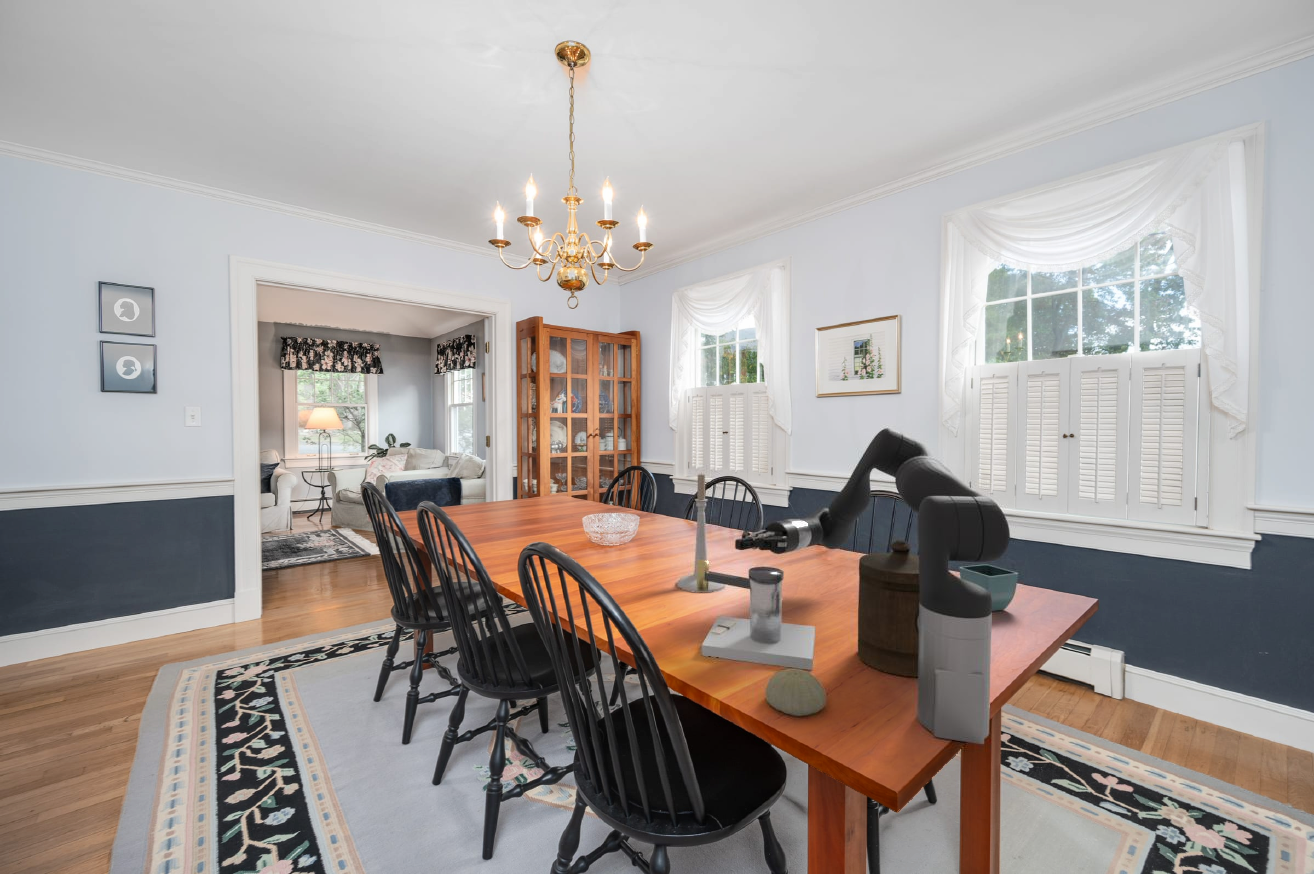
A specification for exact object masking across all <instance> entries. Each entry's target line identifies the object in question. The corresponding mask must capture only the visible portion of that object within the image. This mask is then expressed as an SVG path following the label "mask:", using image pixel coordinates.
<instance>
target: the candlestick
mask: <svg viewBox="0 0 1314 874" xmlns="http://www.w3.org/2000/svg"><path fill="white" fill-rule="evenodd" d="M708 500H709V499H708V498H707V499H706V474H704V473H700V474H699V473H698V474H697V498H695V499H694V501H695V502H696V504H695V505H696V507H697V514H696V515H697V519H696V520H697V521H696V533H695V534H696V536H695V551H694V552H695V556H694V571H693V573H690V574H686V575H683V576H682V577H680V578H679V579H678V580H677V581H676V586H677V588H679V587H680V588H681V589H680V588H679V589H680V590H682V589H684V590H683V591H685V590H687V591H686V592H689V591H694V592H693V593H697V592H709V593H715V592H714V591H716V592H719V590H720V591H721V590H724V589H725V588H724V587H726V585H725V584H720V583H715V582H710V581H709V590H708V591H698V590H697V560H699V559H706V560H708V552H707V551H708V550H707V529H706V513H705V509H706V507H707V502H708ZM712 591H713V592H712Z"/></svg>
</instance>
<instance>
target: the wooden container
mask: <svg viewBox="0 0 1314 874" xmlns="http://www.w3.org/2000/svg"><path fill="white" fill-rule="evenodd" d="M911 547H912V546H911V544H910V543H909V542H907V541H906V540H903V539H902V540H900V539H898V540H896V541H893V542H892V543H891V544H890V548H891V550H892V552H877V553H876V552H875V553H868V554H864V555H862V556H860V558H859V561H858V562H859V563H858V576H859V577H858V579H859V580H858V609H857V654H858V657H859V659H860V660H861V661H862V662H863V663H865V664H867V665H868V666H869V667H871V668H873V669H876V670H878V671H880V672H884V673H887V674H892V675H897V676H901V677H908V678H909V677H910V678H911V677H913V678H914V677H915V678H918V648H919V597H920V591H919V554H918V555H917V554H911Z"/></svg>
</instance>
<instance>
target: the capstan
mask: <svg viewBox="0 0 1314 874" xmlns="http://www.w3.org/2000/svg"><path fill="white" fill-rule="evenodd" d="M709 562H710V560H709V559H707V560H706V559H699V560H697V590H698V591H708V590H709V581H710V582H715V583H720V584H725V586H726V585H727V586H732V587H736V588H742V589H747V590H749V619H750V637H751V638H752V639H754V640H757V641H761V642H776V641H779V640H780V639H781V626H782V623H783V622H782V621H783V620H782V619H783V618H782V617H783V615H782V613H783V612H782V610H783V609H782V603H783V601H782V599H783V598H782V597H783V591H782V590H783V580H784V575H785V574H784V573H785V572H784V571H783V570H782V569H781V568H780V569H779V568H777V567H773V566H772V567H771V566H755V567H751V568H749V569H748V577H743V576H737V575H732V574H728V573H722V572H715V571H710V569H709V568H710V566H709V565H710V563H709Z"/></svg>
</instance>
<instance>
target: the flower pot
mask: <svg viewBox="0 0 1314 874" xmlns="http://www.w3.org/2000/svg"><path fill="white" fill-rule="evenodd" d="M958 569H959V575H960V577H959V578H961V579H963V580H966V581H969V582H972V583H974V584H977V585H979V586H981V587H983V588H984V589H986V590H987V591H988V592H989V593H990V595H991V598H992V612H995V611H1002V610H1005V609H1007V608H1008V606H1009V605H1010V604H1011V602H1012V601H1013V600H1014V596H1015V595H1016V590H1017V584H1018V579H1019V578H1018V577H1019V573H1018V572H1016V571H1012V570H1008V569H1005V568H1002V567H998V566H995V565H991V564H986V563H985V564H978V565H977V564H976V565H975V564H974V565H968V566H959V567H958Z"/></svg>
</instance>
